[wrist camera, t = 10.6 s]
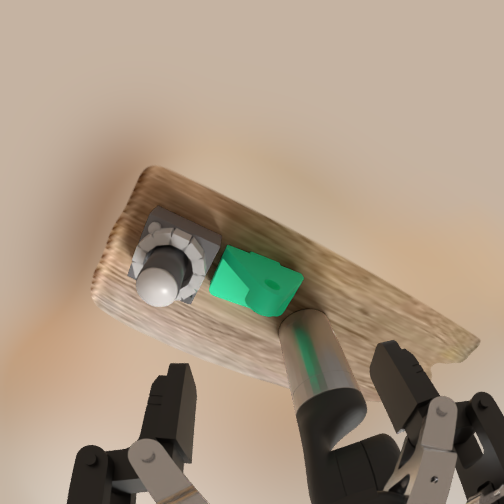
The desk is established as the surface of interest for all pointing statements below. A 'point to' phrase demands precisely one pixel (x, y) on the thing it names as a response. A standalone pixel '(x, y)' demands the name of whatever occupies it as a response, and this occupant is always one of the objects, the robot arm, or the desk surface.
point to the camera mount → (254, 282)
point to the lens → (162, 275)
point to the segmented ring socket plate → (182, 237)
